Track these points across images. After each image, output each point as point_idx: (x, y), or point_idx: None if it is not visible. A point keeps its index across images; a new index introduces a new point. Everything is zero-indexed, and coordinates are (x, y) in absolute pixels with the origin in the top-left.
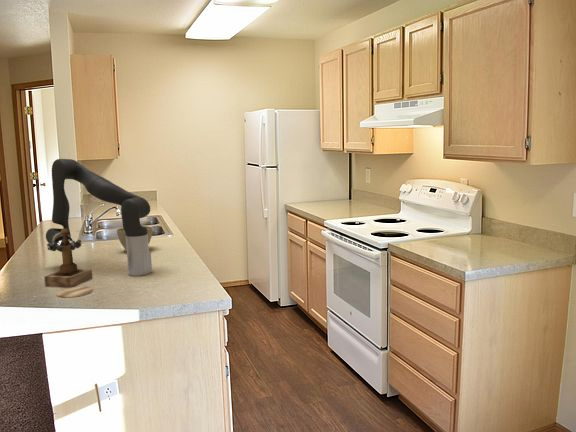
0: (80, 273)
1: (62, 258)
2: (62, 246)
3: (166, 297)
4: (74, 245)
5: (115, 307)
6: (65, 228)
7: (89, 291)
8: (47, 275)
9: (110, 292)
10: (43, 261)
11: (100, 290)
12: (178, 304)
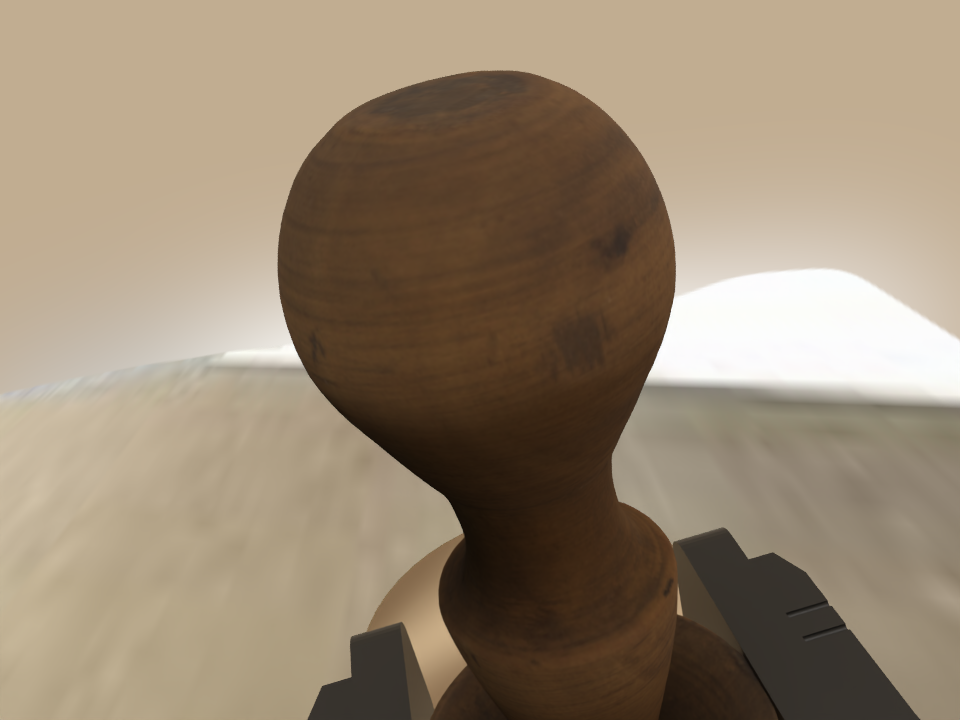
0: None
1: None
2: (687, 629)
3: (12, 465)
4: (331, 713)
5: (297, 375)
6: (383, 96)
7: (397, 589)
8: None
9: (242, 588)
10: None
11: (301, 654)
12: (41, 393)
